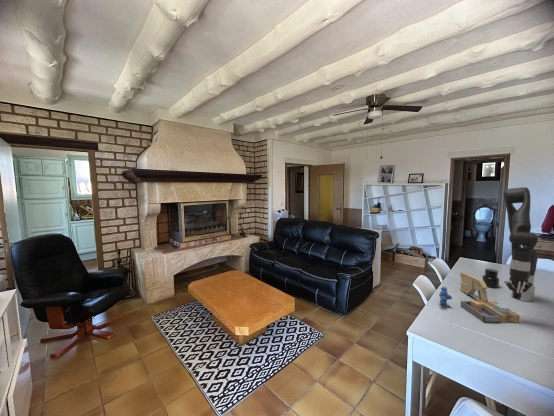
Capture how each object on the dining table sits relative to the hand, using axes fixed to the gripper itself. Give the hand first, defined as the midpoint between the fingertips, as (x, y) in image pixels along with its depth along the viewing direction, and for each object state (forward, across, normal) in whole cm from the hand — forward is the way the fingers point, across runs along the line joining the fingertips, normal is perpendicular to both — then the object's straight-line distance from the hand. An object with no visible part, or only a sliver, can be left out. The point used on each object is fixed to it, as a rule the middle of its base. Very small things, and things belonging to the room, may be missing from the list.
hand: (516, 298), depth 127 cm
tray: (+12, +16, -3) cm, 20 cm away
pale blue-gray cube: (+8, +8, 0) cm, 11 cm away
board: (+12, +6, -3) cm, 14 cm away
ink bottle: (+11, -22, -44) cm, 50 cm away
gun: (+12, +5, -24) cm, 27 cm away
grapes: (+12, +30, -12) cm, 34 cm away
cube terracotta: (+9, +14, -7) cm, 18 cm away
